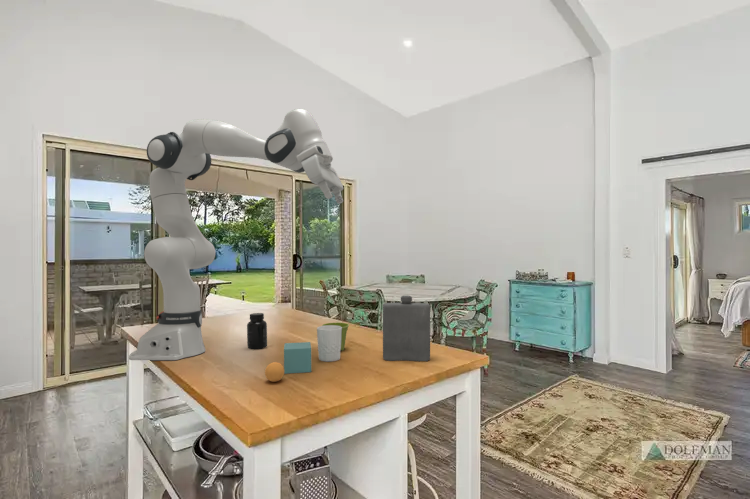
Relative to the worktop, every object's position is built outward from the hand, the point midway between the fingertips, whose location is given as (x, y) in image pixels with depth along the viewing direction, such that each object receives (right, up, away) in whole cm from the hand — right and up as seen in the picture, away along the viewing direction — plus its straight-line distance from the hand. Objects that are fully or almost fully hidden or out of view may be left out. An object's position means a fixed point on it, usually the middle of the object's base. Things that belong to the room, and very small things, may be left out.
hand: (335, 200), depth 118 cm
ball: (-15, -47, -12) cm, 50 cm away
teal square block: (-11, -49, -1) cm, 50 cm away
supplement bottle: (-30, -49, +25) cm, 63 cm away
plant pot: (-2, -49, +22) cm, 54 cm away
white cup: (-3, -49, +10) cm, 51 cm away
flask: (+22, -49, +10) cm, 55 cm away
